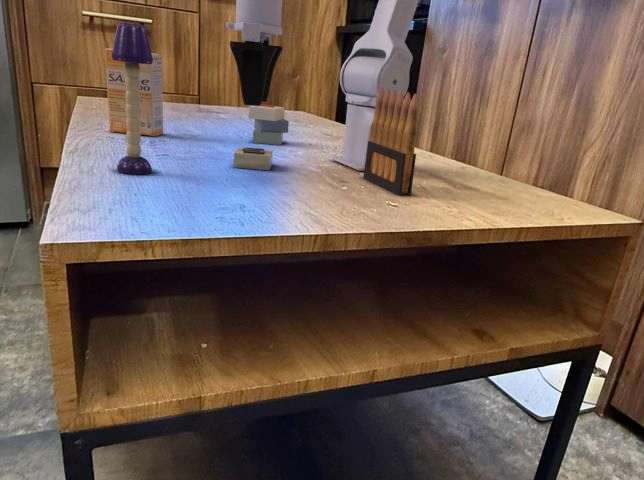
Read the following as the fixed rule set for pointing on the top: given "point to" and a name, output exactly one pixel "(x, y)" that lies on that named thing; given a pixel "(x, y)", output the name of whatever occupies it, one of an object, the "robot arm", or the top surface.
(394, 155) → the ammunition clip
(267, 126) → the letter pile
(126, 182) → the top surface
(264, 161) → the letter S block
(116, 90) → the supplement box
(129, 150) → the toy lamp
